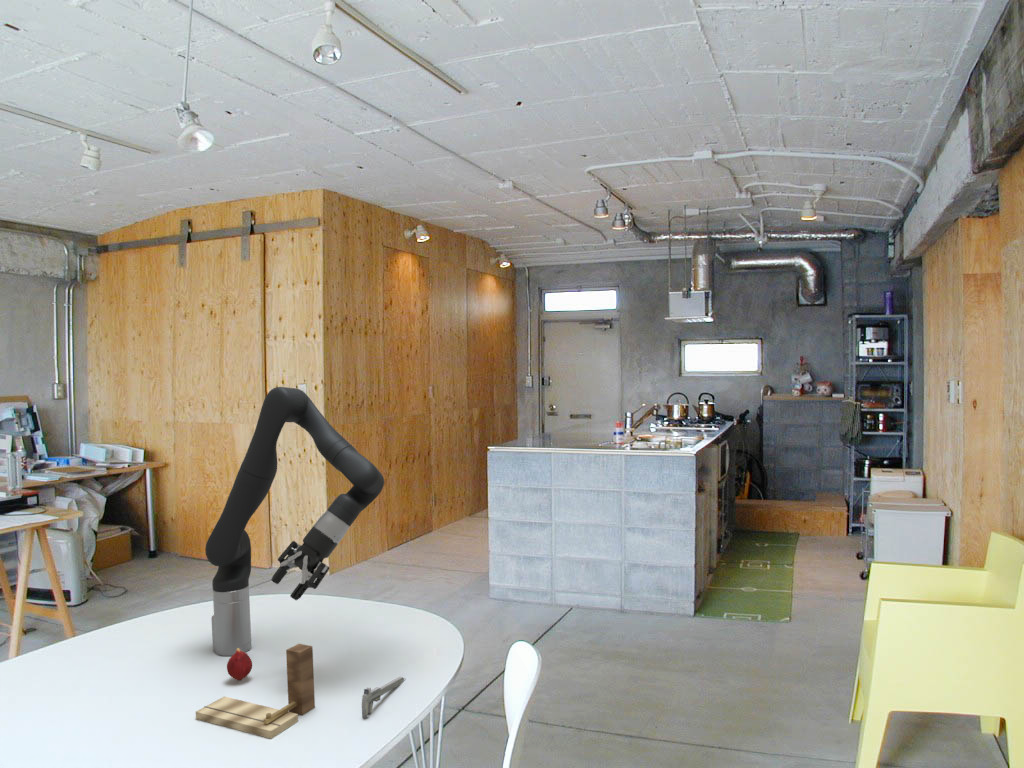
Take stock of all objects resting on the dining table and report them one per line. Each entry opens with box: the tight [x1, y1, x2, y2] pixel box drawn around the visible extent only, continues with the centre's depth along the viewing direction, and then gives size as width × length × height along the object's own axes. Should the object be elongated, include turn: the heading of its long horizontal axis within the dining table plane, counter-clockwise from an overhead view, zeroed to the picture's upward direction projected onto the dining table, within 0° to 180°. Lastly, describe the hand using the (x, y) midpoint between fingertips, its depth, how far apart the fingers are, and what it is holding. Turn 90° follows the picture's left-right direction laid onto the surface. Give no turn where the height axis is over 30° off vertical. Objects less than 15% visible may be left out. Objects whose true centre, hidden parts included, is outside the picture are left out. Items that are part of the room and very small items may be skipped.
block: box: [263, 643, 316, 724], centre depth 164 cm, size 4×13×14 cm, turn 154°
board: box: [195, 696, 299, 739], centre depth 164 cm, size 22×8×2 cm, turn 64°
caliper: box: [361, 676, 406, 719], centre depth 173 cm, size 20×1×6 cm, turn 164°
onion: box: [226, 648, 253, 682], centre depth 184 cm, size 6×6×8 cm
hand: (283, 590), depth 179 cm, fingers open, 8 cm apart
